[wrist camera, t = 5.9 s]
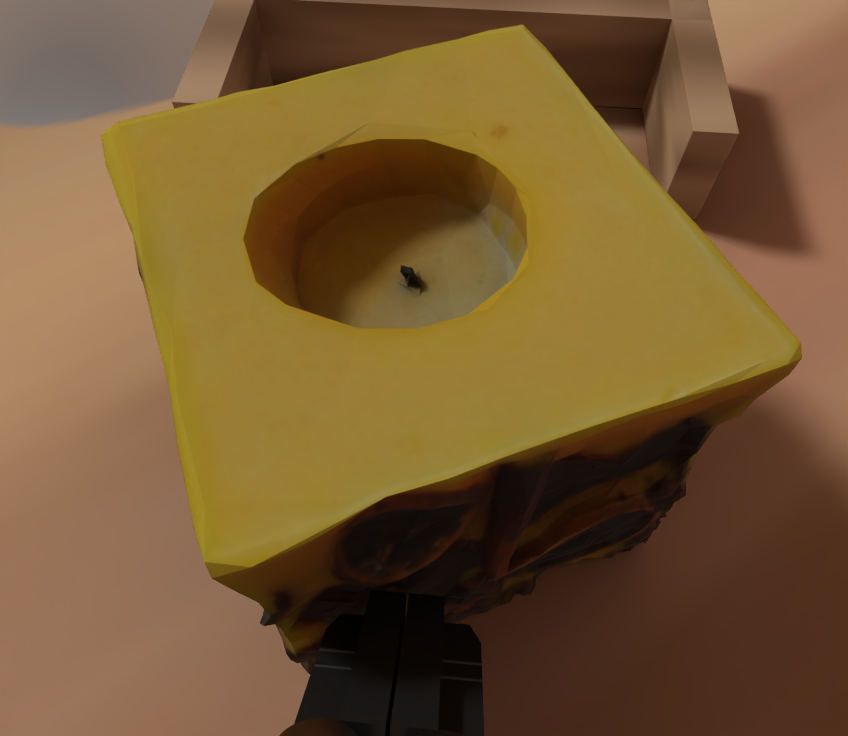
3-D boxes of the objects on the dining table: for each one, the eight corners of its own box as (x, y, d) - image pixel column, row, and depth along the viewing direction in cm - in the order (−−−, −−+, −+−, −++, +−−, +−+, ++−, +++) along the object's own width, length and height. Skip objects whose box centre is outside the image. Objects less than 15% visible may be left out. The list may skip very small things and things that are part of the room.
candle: (651, 544, 19) (839, 361, 10) (310, 691, 17) (199, 613, 9) (498, 281, 24) (541, 9, 15) (218, 372, 22) (89, 118, 13)
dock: (696, 219, 25) (739, 133, 22) (204, 189, 26) (171, 101, 23) (670, 70, 30) (702, -20, 27) (253, 48, 31) (232, -42, 27)
